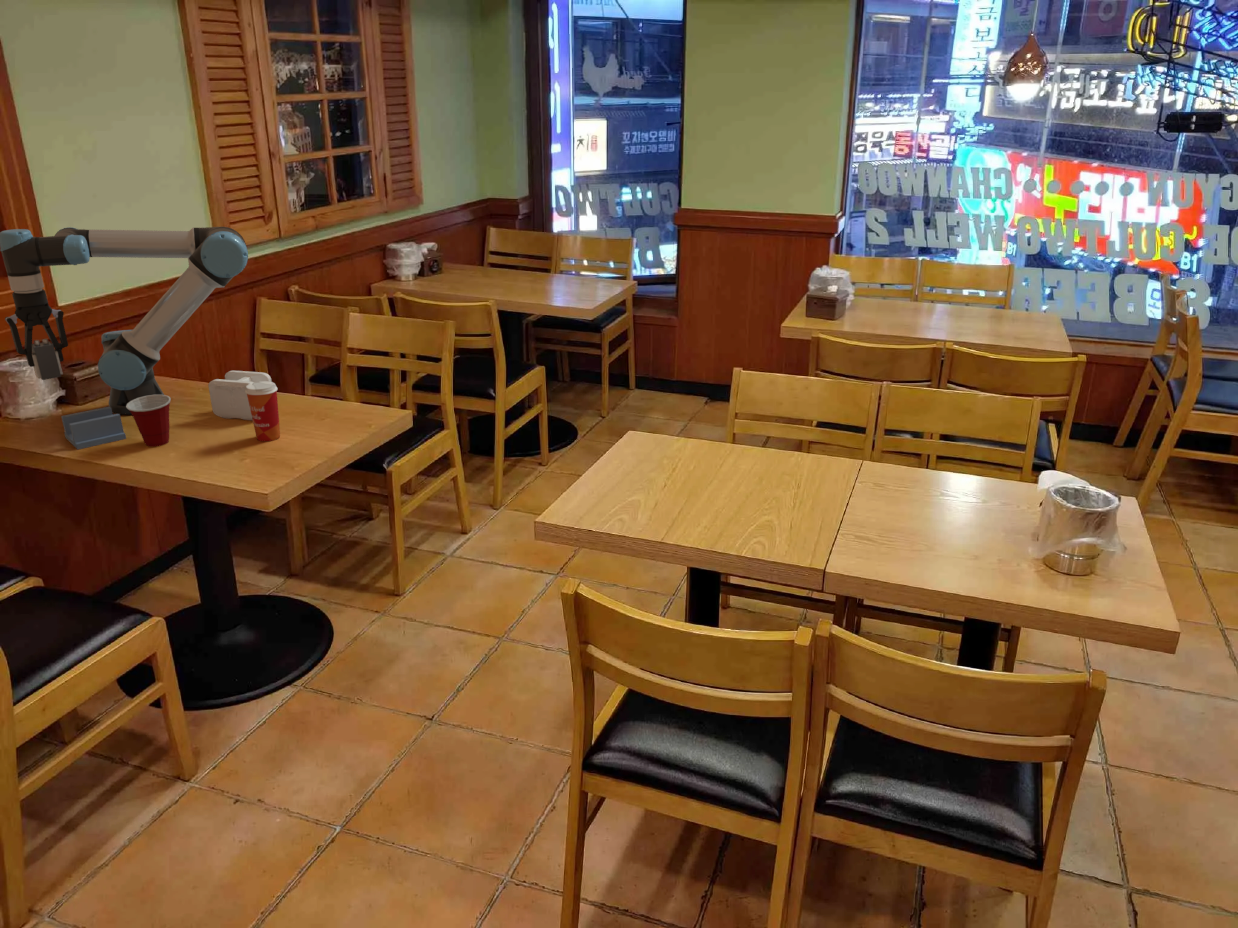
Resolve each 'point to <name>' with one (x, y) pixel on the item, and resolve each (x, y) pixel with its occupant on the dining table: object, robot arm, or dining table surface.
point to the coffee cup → (264, 410)
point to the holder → (93, 427)
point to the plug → (46, 359)
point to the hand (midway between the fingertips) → (49, 375)
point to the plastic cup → (152, 418)
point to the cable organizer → (234, 393)
